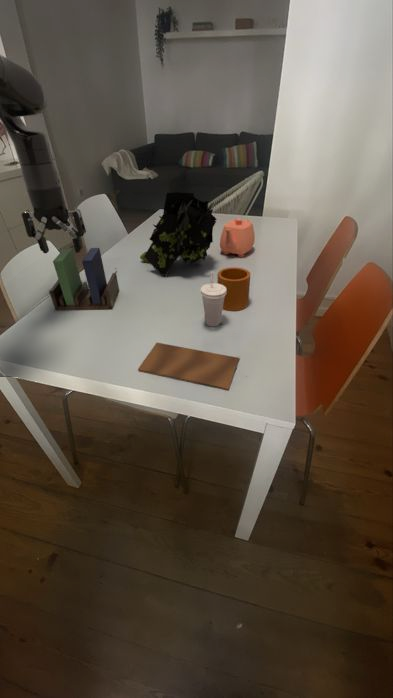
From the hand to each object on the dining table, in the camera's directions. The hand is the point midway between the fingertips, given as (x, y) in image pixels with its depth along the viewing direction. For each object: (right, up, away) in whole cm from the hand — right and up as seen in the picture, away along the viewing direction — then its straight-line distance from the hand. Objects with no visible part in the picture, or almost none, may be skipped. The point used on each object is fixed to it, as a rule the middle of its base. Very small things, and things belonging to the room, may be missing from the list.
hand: (62, 252), depth 84 cm
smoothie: (+40, -19, -1) cm, 44 cm away
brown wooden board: (+34, -29, -15) cm, 48 cm away
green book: (0, -11, +8) cm, 14 cm away
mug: (+47, -12, +7) cm, 49 cm away
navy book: (+8, -11, +8) cm, 16 cm away
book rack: (+4, -12, +9) cm, 15 cm away
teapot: (+51, +11, +36) cm, 63 cm away
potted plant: (+29, +3, +27) cm, 40 cm away
